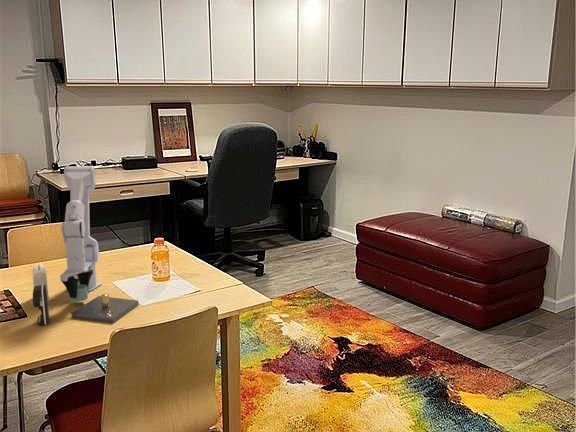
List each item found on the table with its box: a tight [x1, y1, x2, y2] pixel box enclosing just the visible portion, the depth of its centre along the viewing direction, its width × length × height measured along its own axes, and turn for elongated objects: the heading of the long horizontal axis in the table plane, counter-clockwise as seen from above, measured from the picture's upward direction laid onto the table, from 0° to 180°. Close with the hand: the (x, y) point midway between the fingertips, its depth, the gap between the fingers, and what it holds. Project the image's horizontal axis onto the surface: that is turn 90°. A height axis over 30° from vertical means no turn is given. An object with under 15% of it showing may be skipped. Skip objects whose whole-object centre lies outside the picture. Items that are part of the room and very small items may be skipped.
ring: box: [69, 284, 89, 303], centre depth 183 cm, size 5×5×4 cm
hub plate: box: [71, 293, 139, 324], centre depth 177 cm, size 15×15×6 cm
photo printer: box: [31, 263, 50, 303], centre depth 185 cm, size 10×4×12 cm, turn 26°
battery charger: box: [32, 285, 50, 326], centre depth 168 cm, size 7×4×11 cm, turn 22°
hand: (78, 294), depth 183 cm, fingers closed on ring, 5 cm apart
